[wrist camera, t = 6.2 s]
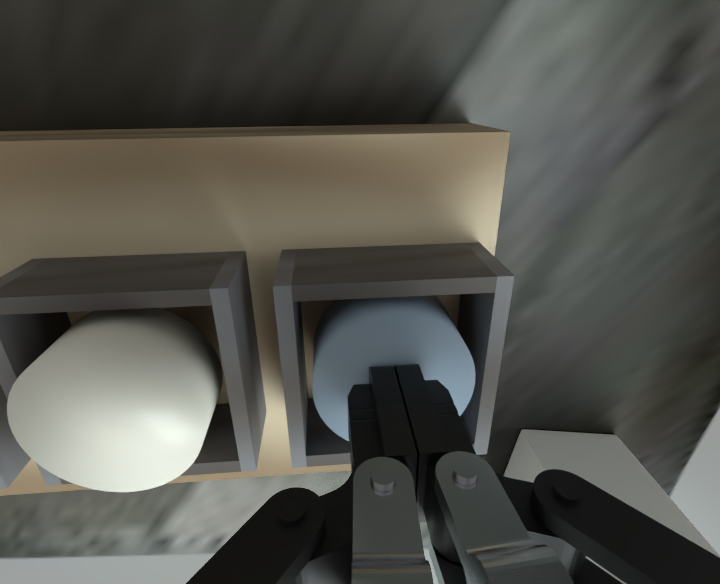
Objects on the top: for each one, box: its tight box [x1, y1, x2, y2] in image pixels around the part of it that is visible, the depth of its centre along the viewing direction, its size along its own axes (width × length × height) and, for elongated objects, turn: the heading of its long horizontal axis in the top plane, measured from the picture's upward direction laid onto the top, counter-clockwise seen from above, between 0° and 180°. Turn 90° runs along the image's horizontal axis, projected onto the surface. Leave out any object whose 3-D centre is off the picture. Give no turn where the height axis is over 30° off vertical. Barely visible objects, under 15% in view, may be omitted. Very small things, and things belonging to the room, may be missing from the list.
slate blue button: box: [313, 295, 476, 441], centre depth 14 cm, size 5×5×2 cm
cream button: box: [7, 308, 223, 492], centre depth 13 cm, size 5×5×2 cm
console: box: [0, 123, 514, 496], centre depth 16 cm, size 14×24×7 cm, turn 90°
